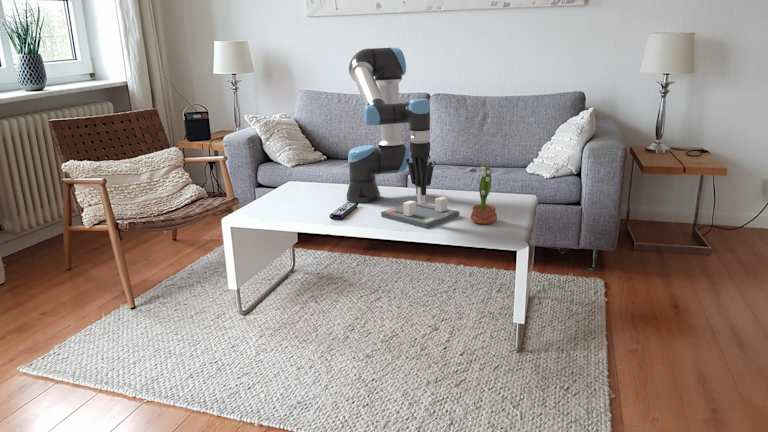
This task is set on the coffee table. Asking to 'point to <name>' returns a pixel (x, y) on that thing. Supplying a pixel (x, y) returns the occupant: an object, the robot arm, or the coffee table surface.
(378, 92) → the robot arm
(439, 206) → the switch knob
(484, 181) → the potted flower
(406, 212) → the switch knob
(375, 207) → the coffee table surface
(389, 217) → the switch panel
